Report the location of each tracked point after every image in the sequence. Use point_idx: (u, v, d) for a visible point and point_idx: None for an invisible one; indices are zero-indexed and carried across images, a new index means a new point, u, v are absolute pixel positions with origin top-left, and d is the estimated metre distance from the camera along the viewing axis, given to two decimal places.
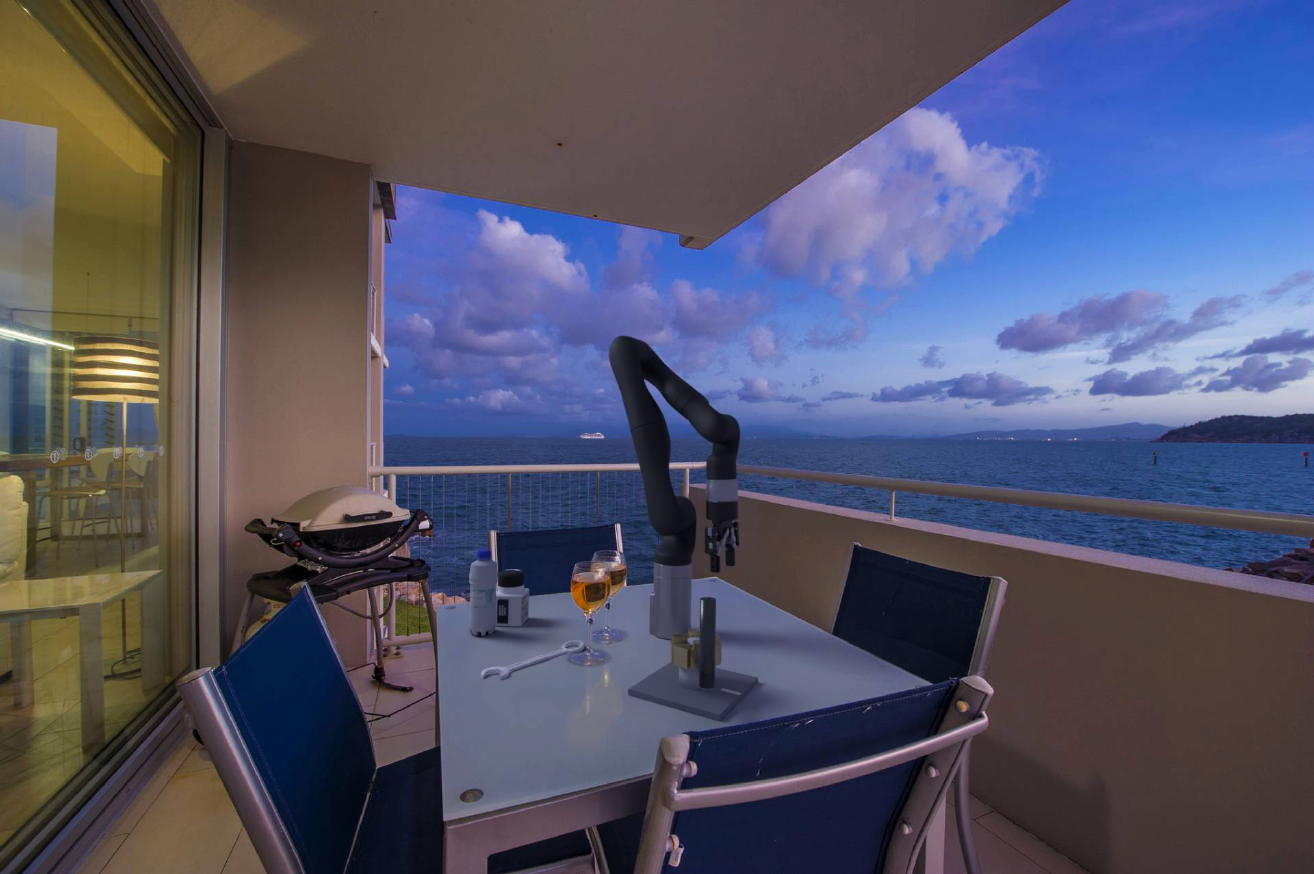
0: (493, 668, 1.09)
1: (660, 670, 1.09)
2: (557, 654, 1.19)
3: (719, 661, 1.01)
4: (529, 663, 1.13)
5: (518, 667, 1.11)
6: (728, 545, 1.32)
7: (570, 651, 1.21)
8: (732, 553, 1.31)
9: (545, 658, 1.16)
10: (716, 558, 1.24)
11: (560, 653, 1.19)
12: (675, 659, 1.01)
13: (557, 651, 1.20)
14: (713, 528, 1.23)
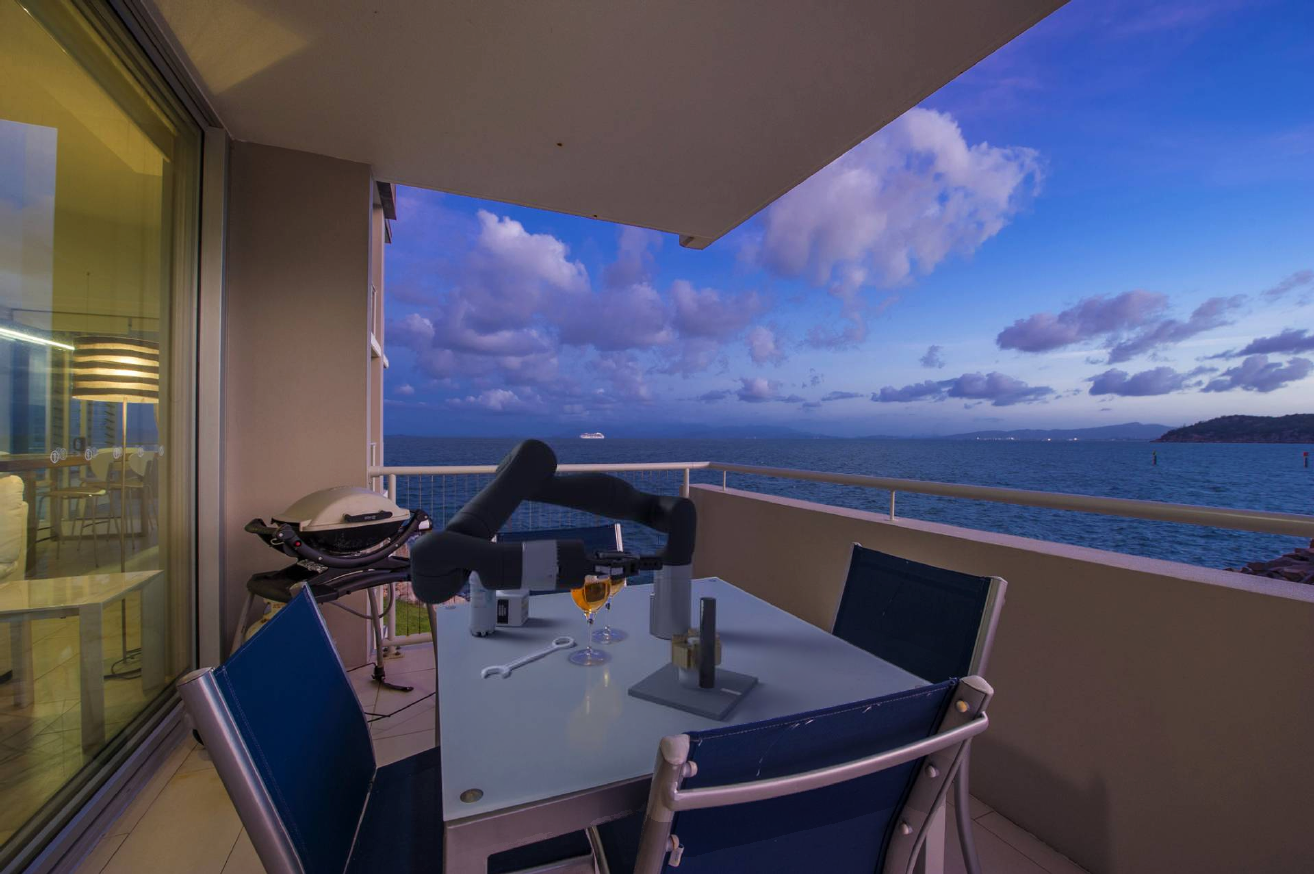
0: (493, 667, 1.09)
1: (660, 670, 1.09)
2: (550, 651, 1.21)
3: (719, 661, 1.01)
4: (526, 661, 1.14)
5: (516, 665, 1.12)
6: (630, 564, 0.88)
7: (562, 647, 1.23)
8: None
9: (540, 655, 1.18)
10: (643, 559, 0.87)
11: (553, 650, 1.21)
12: (675, 659, 1.01)
13: (549, 648, 1.22)
14: (615, 565, 0.81)
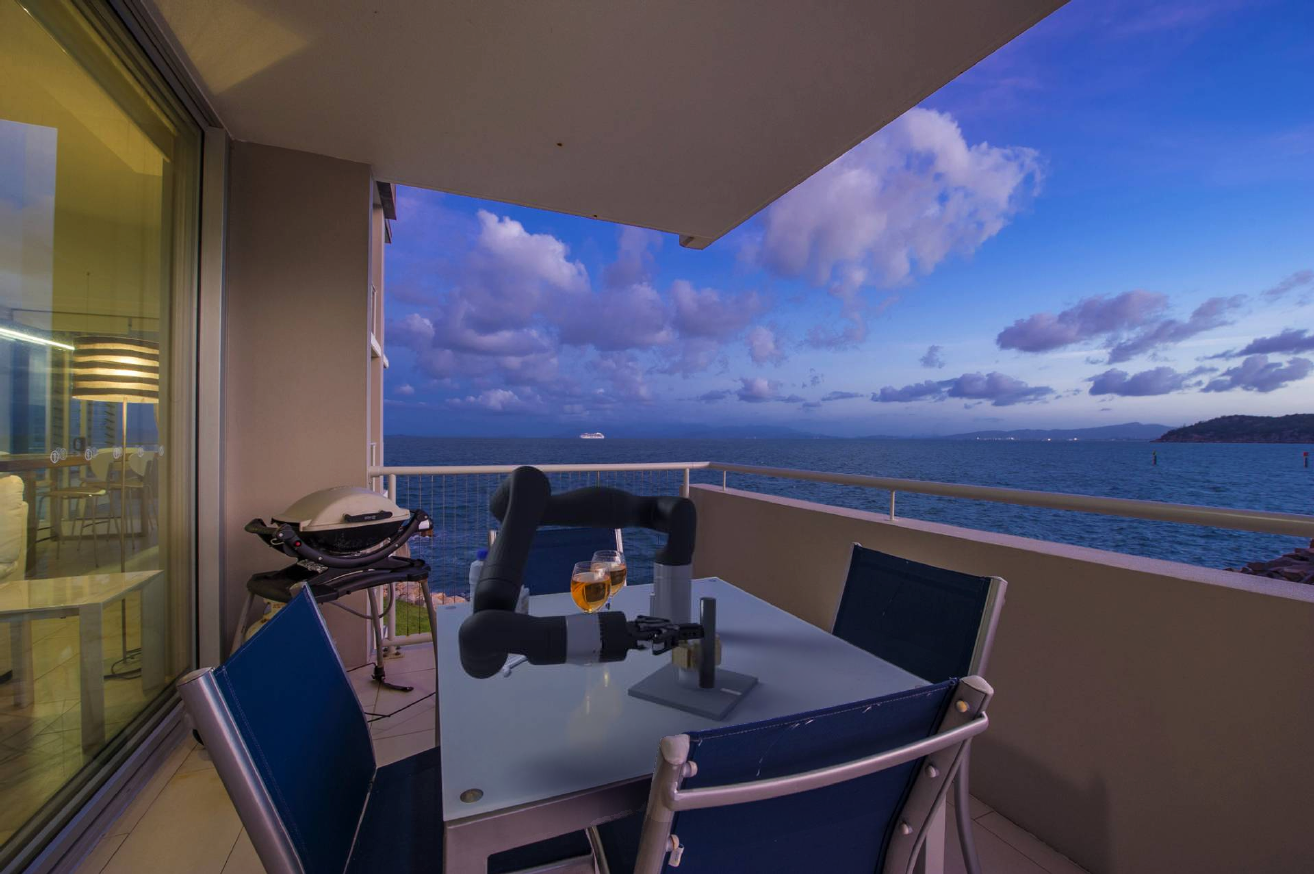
0: None
1: (660, 670, 1.09)
2: None
3: (719, 661, 1.01)
4: (522, 659, 1.15)
5: (514, 663, 1.13)
6: None
7: None
8: None
9: None
10: (683, 629, 0.89)
11: None
12: (675, 659, 1.01)
13: None
14: (657, 641, 0.82)
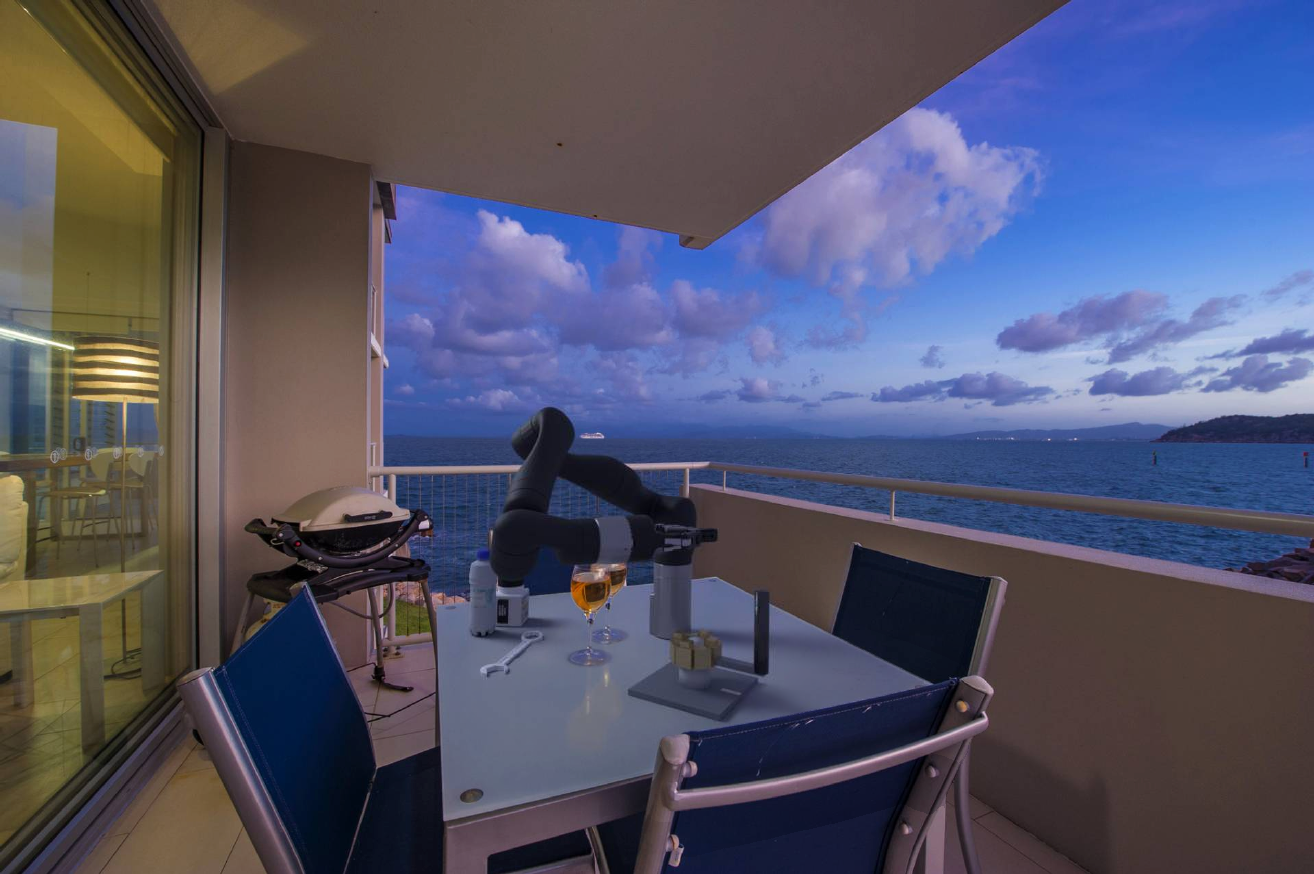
0: (490, 666, 1.10)
1: (660, 670, 1.09)
2: (527, 645, 1.24)
3: None
4: (513, 656, 1.17)
5: (508, 661, 1.14)
6: None
7: (534, 640, 1.27)
8: None
9: (521, 650, 1.21)
10: (701, 532, 0.93)
11: (528, 644, 1.25)
12: (696, 664, 0.99)
13: (523, 643, 1.25)
14: (686, 537, 0.86)
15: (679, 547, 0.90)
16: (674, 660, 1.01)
